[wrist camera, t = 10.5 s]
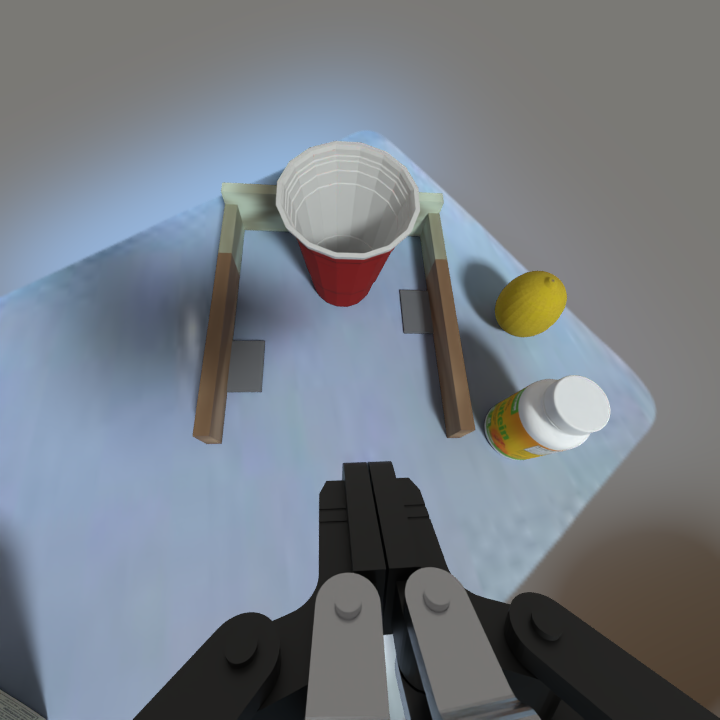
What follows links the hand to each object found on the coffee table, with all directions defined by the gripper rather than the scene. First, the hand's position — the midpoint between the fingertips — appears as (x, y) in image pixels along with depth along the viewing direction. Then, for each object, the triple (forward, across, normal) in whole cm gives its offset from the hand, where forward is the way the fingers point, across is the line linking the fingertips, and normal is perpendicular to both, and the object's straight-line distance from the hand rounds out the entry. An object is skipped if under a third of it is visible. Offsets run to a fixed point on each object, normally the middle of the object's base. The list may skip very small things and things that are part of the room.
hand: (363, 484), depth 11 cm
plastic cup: (+28, -1, -1) cm, 29 cm away
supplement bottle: (+17, -16, +10) cm, 26 cm away
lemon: (+25, -18, +2) cm, 31 cm away
